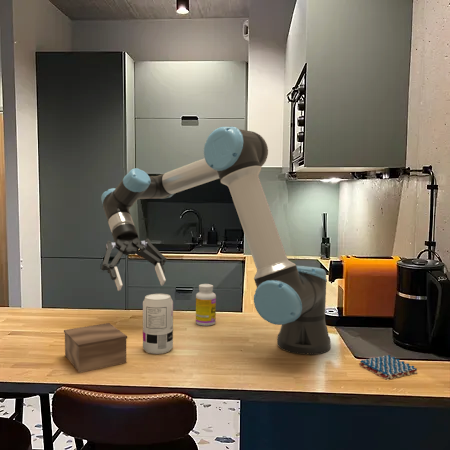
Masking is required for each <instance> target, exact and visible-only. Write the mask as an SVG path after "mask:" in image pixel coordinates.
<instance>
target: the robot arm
mask: <svg viewBox="0 0 450 450" xmlns="http://www.w3.org/2000/svg"><path fill="white" fill-rule="evenodd" d="M268 155H269V148H268V144H267V141H266V140H265V138H264V137H263V136H262V135H260V133H257V132H255V131H252V130H245V129H241V128H238V127H235V126H220V127H218V128H216V129H214V130H213V131H212V132H210V134H209V135H208V136H207V138H206V142H205V143H204V146H203V158H202V159H198V160H196V161H193V162H191V163H189V164H184V165H183V166H180V167H177V168H175V169H172V170H169V171H166V172H165V173H162V174H159V175H149V174H148V173H147V172H146V171H144V170H143V169H140V168H137V167H136V168H132V169H130V170H129V172H127V174H126V175H124V177H123V179H122V180H121V181H120V182H119V184H118V185H117V186H116V188H114V187H112V188H108V189H107V190H106V191H104V192H103V193H102V194H101V196H100V200H101V205H102V209H103V211H104V214H105V217H106V220H107V222H108V223H107V224H108V226H109V229H110V232H111V234H112V235H111V236H112V238H113V241H114V242H112V241H111V240H109V239H108V240H107V242H106V245H105V250H106V251H105V255H104V258H103V262H102V265H101V271H103V272H104V271H106V272H107V274H109V277H110V280H112V281H114V284H115V286H116V288H117V291H118V292H119V291H122V287H123V286H124V285H123V281H122V278H121V275H120V272H119V269H118V266H117V264H118V262H119V260H120V259H121V258H122V256H123V255H124V256H132V255H133V256H136V255H137V256H138V257H141V258H142V259H144V260H146V261H148V262H149V263H150V264H152V265H153V266H154V269H155V272H156V276H157V279H158V281H159V283H160V286H164V285H165V283H166V281H167V279H166V277H165V271H166V270H165V268H164V265H165V264H166V261H167V260H168V259H167V257H165V255H163V254H162V252H160V250H158V248H157V247H156V246H155V245H153V244H152V242H151V240H150V239H149V238H145V240H140V238H139V234H138V232H137V229H136V227H135V223H134V221H133V217H132V215H131V211H130V209H131V207H132V206H134V204H135V203H136V202H137V201H138V200H145V199H147V200H148V199H152V200H153V199H161V200H164V199H170V198H171V197H173V196H174V195H175V194H176V193H181V192H183V191H185V190H188V189H192V188H194V187H198V186H200V185H204V184H206V183H209V182H212V181H215V180H219V181H220V184H222V185H225V186H227V187H228V189H229V192H230V195H231V197H232V198H231V199H232V202H233V205H234V208H235V209H236V212H237V215H238V218H239V223H240V224H241V227H242V230H243V233H244V236H245V239H246V242H247V245H248V248H249V250H250V253H251V254H250V255H251V256H252V259H253V262H254V265H255V268H256V273H255V274H254V277H253V280H254V283H255V286H256V289H255V291H254V292H255V293H254V294H253V305H254V308H255V310H256V312H257V313H258V315H259V316H260V317H261V318H262V320H264V321H266V322H268V323H269V324H272V325H276V326H280V330H279V332H278V334H277V337H276V341H277V342H276V343H277V347H279V349H281V350H282V351H286V352H289V353H293V354H299V355H318V354H319V355H320V354H323V353H327V352H329V350H331V344H332V343H331V337H330V336H329V331H328V327H327V323H326V302H327V300H326V299H327V296H326V295H327V281H328V280H327V279H328V278H327V272H326V270H325V269H323V268H321V267H316V266H306V265H296V263H294V262H292V261H290V260H289V259H288V255H287V254H286V251H285V248H284V245H283V242H282V238H281V235H280V234H279V231H278V227H277V225H276V223H275V219H274V217H273V214H272V211H271V208H270V205H269V203H268V200H267V197H266V194H265V191H264V189H263V185H262V183H261V180H260V177H259V175H260V173H261V170H262V167H263V166H264V165H265V163H266V162H267V159H268ZM114 248H115V249H116V250H118V252H116V255H115V256H114V257H113V259H112V260H111V262H110V263H109V260H110V256H111V253H112V250H114Z"/></svg>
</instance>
